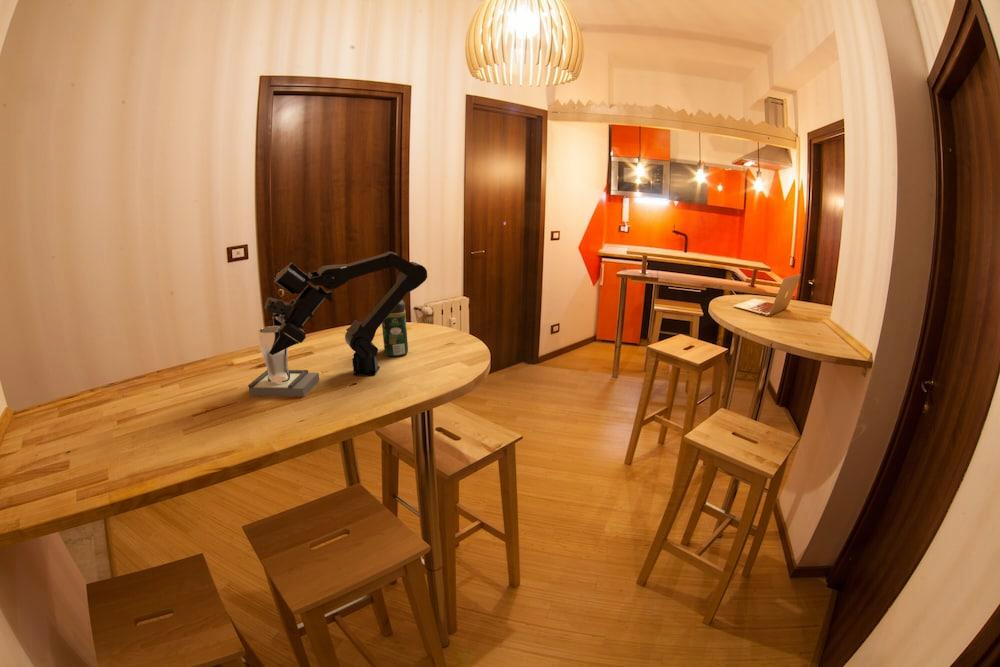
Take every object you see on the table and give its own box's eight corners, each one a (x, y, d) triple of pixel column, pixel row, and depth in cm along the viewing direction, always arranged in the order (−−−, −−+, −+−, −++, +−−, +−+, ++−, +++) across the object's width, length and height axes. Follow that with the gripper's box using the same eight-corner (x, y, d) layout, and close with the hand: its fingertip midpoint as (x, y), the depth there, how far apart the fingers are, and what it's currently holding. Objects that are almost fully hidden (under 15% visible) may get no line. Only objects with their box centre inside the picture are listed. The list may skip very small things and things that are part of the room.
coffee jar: (384, 348, 173) (379, 296, 167) (407, 346, 175) (403, 294, 169) (384, 358, 164) (379, 303, 158) (409, 356, 166) (405, 301, 160)
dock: (319, 380, 147) (318, 370, 146) (304, 396, 137) (302, 385, 136) (269, 380, 148) (267, 369, 147) (250, 396, 137) (248, 385, 136)
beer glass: (297, 376, 143) (290, 325, 139) (284, 386, 137) (276, 333, 132) (274, 374, 144) (267, 325, 140) (260, 384, 138) (252, 332, 133)
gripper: (276, 280, 142) (239, 323, 140) (286, 293, 127) (244, 342, 125) (308, 303, 148) (274, 345, 147) (322, 319, 133) (283, 365, 131)
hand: (268, 348), depth 137 cm, fingers open, 9 cm apart
